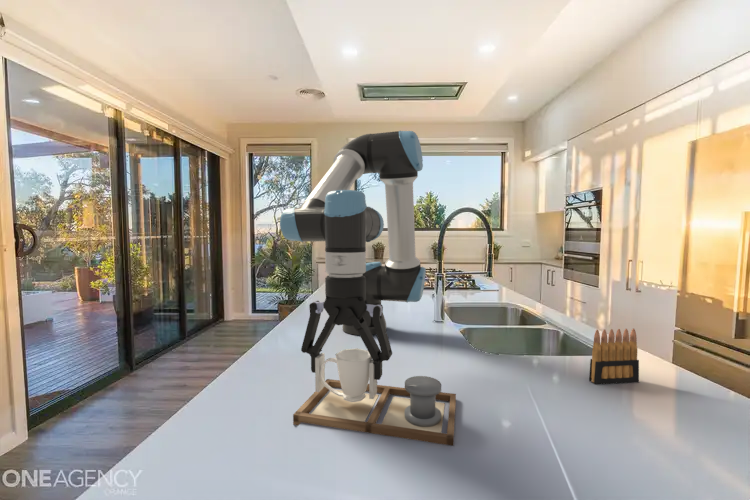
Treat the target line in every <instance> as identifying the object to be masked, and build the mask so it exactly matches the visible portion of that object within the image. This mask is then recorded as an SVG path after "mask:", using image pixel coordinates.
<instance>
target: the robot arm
mask: <svg viewBox="0 0 750 500" xmlns="http://www.w3.org/2000/svg"><path fill="white" fill-rule="evenodd" d="M423 161H424V160H423V152H422V146H421V142H420V139H419V137H418V135H417V133H416V132H414V131H412V130H398V131H387V132H377V133H366V134H362V135H359V136H358V137H357V136H356V138H354V139H352V140H350V141H349V142H347V143H345V145H343V146H342V147H341V148H340V149H339V150H338V152H337V153H336V154H335V155H334V157H333V162H332V163H333V164H332V165H331V166H330V168H328V170H327V171H326V173H325V174H324V175H323V177H322V178H321V179H320V180H319V182H318V183H317V184H316V185H315V186H314V189H312V191H311V192H310V194H308V196H307V197H306V199H305V200H304V202H303V203H302V204H301V205H300V206H299V207H297V206H294V207H290V208H289V207H288V208H286V209H284V210H283V211H282V212H281V216H280V220H279V227H280V231H281V234H282V236H283V238H284V239H285V240H288V241H292V242H293V241H295V242H301V243H306V242H325V243H324V244H325V249H324V251H325V253H324V254H325V255H324V256H325V257H324V259H325V262H324V263H325V264H324V265H325V268H324V269H325V271H324V272H325V273H326V274H327V276H325V279H324V280H325V283H324V284H325V287H324V288H325V290H324V291H325V298H324V299H325V300H324V301H319V300H315V301H313V302H311V303H309V318H308V321H307V325H306V330H305V333H304V337H303V341H302V345H301V348H300V350H301V352H302V353H304V354H305V353H306V354H308V355H310V371H311V373H314V374H315V377H314V378H315V379H314V382H315V385H314V386H315V391H314V392H320V391H321V390H322V389H323V387H324V385H323V383H322V382H321V379H320V370H321V367H322V364H323V363H324V362H325V361H326V359H325V353H322V351H323V348H324V346H325V345H326V342H327V341H328V339H329V337H330V336H331V334H332V332H333V330H334V328H335V326H342V331H343V332H344V333H346V334H350V335H355V336H360V339H361V340H362V342H363V344H364V346H365V348H366V350H367V351H368V352H369V354H370V355H371V357H372V360H371V362H370V363H369V382H368V384H369V392H368V394H369V399H374V397H375V395H377V385H378V381H380V380H381V377H382V376H383V362H385V361H387V362H388V361H389V360H390V358H391V357H392V355H393V351H392V350H393V349H392V347H391V343H390V340H389V336H388V333H387V322H386V317H385V315H384V311H383V310H384V306H383V305H382V301H385V302H386V301H388V302H403V303H417V302H420V300H422V297H423V293H424V289H425V282H426V275H427V274H426V273H427V272H426V267H424V266H421V260H420V259H419V258H418V257H417V256H416V233H415V232H416V231H415V230H416V229H415V208H414V206H415V205H414V204H415V202H414V200H415V199H414V182H415V181H416V179H417V178H418V177H419V175H418V173H419V172H421V171H422V170H423V167H424V164H423ZM366 174H379V180H380V182H382V183H383V184H384V189H385V207H386V209H385V210H386V221H387V222H386V224H387V240H388V241H387V242H388V257H389V258H388V259H387V260H386V261H385V262H384V266H383V265H382V264H383V263H382V262H381V261H373V262H372V261H371V262H366V261H367V260H366V259H367V256H366V255H367V253H366V249H367V248H366V247H367V246H366V245H367V244H366V243H370V242H371V241H374V240H376V239H378V238H379V237H380V236H381V235H382V233H383V232H384V227H385V223H384V217H383V215H382V214H381V213H380V212H379V211H377V209H374V208H373V207H371V206H367V203H366V201H367V200H366V195H365V193H364V191H360V190H354V189H351V187H352V186H353V185H354V183H355V181H356V180H358V179H360V178H361V177H363V175H366ZM324 310H325V311H326V313H327V315H328V318H327V320H326V321H325V323H324V326H323V328H322V330H321V332H320V334H319V335H318V337H317V339H316V340H315V337H316V335H317V331H318V326H319V323H320V318H321V315H322V314H321V313H323V311H324ZM373 335H376V337H377V340H378V342H376V340H375V338H374V336H373ZM314 342H315V343H314ZM377 343H378V344H379V345H378V344H377ZM325 366H326V364H325V365H324V368H323V374H322V375H323V378H324V381H326V380H325V378H326V376H325V375H326V372H325V371H326V370H325V368H326V367H325Z"/></svg>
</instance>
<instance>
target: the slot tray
mask: <svg viewBox="0 0 750 500" xmlns="http://www.w3.org/2000/svg"><path fill="white" fill-rule="evenodd" d="M325 382H326V383H327V384H328V385H329V386H331V387H332V388H333V389H334V390H336V391H338V392H340V393H343V391H342V387H341V383H340V379H330V378H327V379H326V380H325ZM335 388H337V389H335ZM366 392H368V393H366ZM366 392H364V393H365V395H366V397H365V398H364V399H363V400H362V401H358V402H349V401H346V400H344V398H343V397H340V396H338V395H336V394H334V393H332V392H331V391H330V390H329V389H327V388H326V387H325V386H324V387H323V389H322V390H321V391H320V392H315V391H314V392H313V393H312V394H311V395H310V396H309V397H308V398H307V399H306V400H305V401H304V402H303V404H302V405H300V407H299V408H298V409H297V410H296V411H295V412H294V413H293V414H292V421H293V422H292V423H293V424H292V425H293V426H299V425H301V423H303V424H304V423H305V424H309V425H317V426H321V427H322V426H323V427H328V428H329V427H330V428H336V429H342V430H348V431H349V430H350V431H354V432H362V433H368V434H375V435H380V436H381V435H382V436H388V437H393V438H401V439H408V440H413V441H414V440H415V441H418V442H419V441H420V442H426V443H431V444H439V445H446V446H452V447H454V437H455V425H456V423H455V422H456V405H457V404H456V402H457V393H451V392H450V393H449V392H442V391H441V392H440V393H439V394H437V395H435V407H436V408H438V409H439V410H440V412H441V421H440V422H439V423H438V424H437V425H435V426H431V427H419V426H415V425H412V424H410V423H409V422H408V421H407V420H406V419H405V409H406V408H407V407H408V406H410V393H408V392H407V391H406V390H405V387H399V386H392V385H382V384H377V393H378V394H377V393H376V395H375V397H374V399H369V383H368V386H367V389H366ZM379 394H381V395H380V396H379ZM325 395H326V396H325ZM390 395H395V396H393V397H392V399H391V402H390V404H389V406H388V409H387V411H386V412H385V413H386V414H385V415H384V418H383V420H382V421H381V423H377V422H378V419H379V418H380V415H381V413H382V411H383V410H384V407H385V405H386V403H387V400H388V399H389V396H390ZM399 396H401V397H399ZM402 396H403V397H402ZM407 397H408V398H407ZM378 398H379V399H378ZM377 399H378V400H377ZM376 401H377V402H376ZM439 401H444V402H439ZM319 402H320V403H319ZM446 402H449V406H448V407H449V409H448V416H447V417H448V418H447V429H446V433H445V432H444V433H443V432H442V429H443V423H444V422H443V421H444V412H445V406H446V405H445V403H446ZM375 403H376V404H375ZM374 405H375V406H374ZM373 407H374V408H373ZM313 409H314V410H313ZM312 410H313V411H312ZM311 411H312V412H311ZM371 411H372V412H371ZM370 412H371V414H370ZM369 414H370V416H369ZM368 416H369V418H368ZM367 418H368V420H366V419H367Z"/></svg>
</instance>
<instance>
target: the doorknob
mask: <svg viewBox="0 0 750 500" xmlns="http://www.w3.org/2000/svg"><path fill="white" fill-rule="evenodd" d="M404 388H405V390H406V391H407V392H408V393H410V397H409V399H410V406H408V407H407V408H406V409H405V419H406V420H407V421H408V422H409V423H410V424H412V425H415V426H419V427H431V426H435V425H437V424H438V423H439V422H440V421H441V412H440V410H439V409H438V408H436V407H435V402H436V400H435V395H437V394H439V393H440V392H442V382H441V381H439V379H436V378H434V377H431V376H426V375H414V376H410V377H408V378H406V379H405V381H404Z"/></svg>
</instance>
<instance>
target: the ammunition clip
mask: <svg viewBox="0 0 750 500" xmlns="http://www.w3.org/2000/svg"><path fill="white" fill-rule="evenodd" d="M637 338H638V337H637V333H636V329H635V328H632V329H631V332H630V334H629V330H628V328H625V329H624V330H623V333H622V331H621V329H620V328H618V329H617V330H616V333H615V332H614V329H612V328H611V329H610V330H609V333H607V330H606V329H603V330H602V333H601V335H600V331H599V330H598V329H596V330H595V333H594V336H593V345H592V351H591V352H592V353H591V358H590V362H589V363H590V364H589V374H588V375H589V376H588V377H589V378H588V381H589V382H591V383H592V384H593V385H597V386H598V385H616V384H617V385H618V384H634V383H636V384H637V383H640V361H639V359H638V342H637V341H638V340H637Z"/></svg>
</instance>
